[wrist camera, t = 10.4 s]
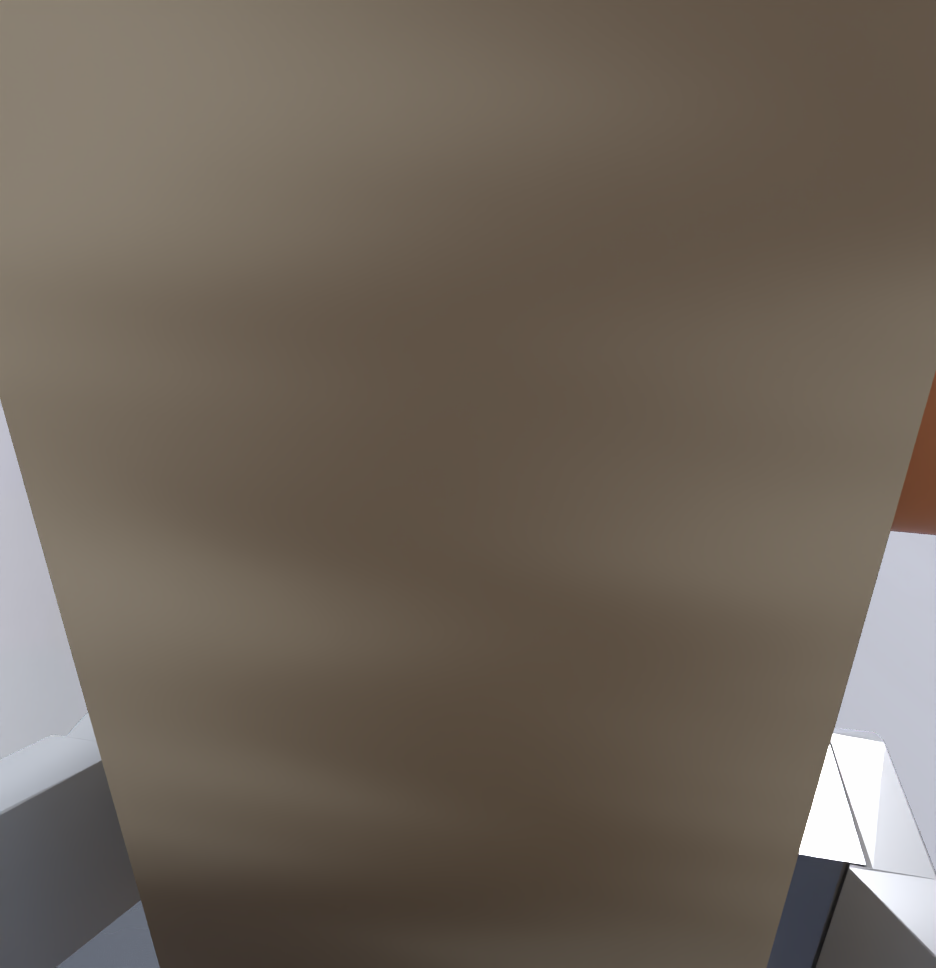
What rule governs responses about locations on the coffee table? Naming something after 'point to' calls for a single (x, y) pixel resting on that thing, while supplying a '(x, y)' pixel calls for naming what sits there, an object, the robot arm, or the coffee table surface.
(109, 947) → the rail
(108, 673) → the beige post on base
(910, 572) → the coffee table surface
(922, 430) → the reddish-brown cylinder
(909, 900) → the robot arm
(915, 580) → the coffee table surface
